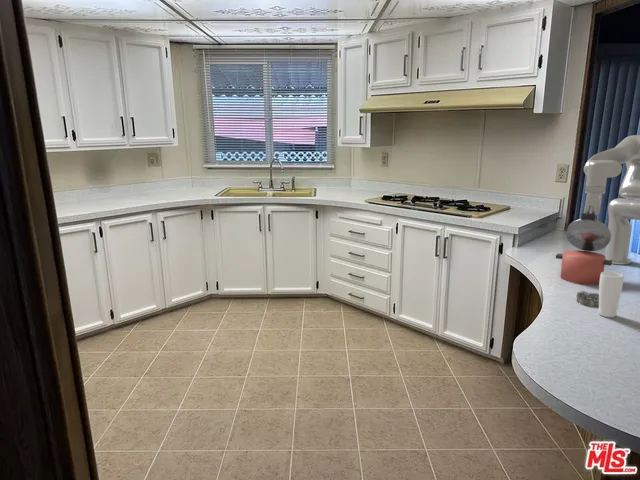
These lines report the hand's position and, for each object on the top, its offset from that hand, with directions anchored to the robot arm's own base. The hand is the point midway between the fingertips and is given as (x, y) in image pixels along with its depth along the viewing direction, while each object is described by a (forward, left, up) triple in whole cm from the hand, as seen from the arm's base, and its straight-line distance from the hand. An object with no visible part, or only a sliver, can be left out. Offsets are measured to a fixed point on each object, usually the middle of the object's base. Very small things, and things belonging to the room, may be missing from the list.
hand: (590, 230), depth 195 cm
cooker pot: (+11, 0, -20) cm, 23 cm away
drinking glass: (+51, +15, -20) cm, 57 cm away
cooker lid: (+7, 0, 0) cm, 7 cm away
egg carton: (+41, +9, -21) cm, 46 cm away
